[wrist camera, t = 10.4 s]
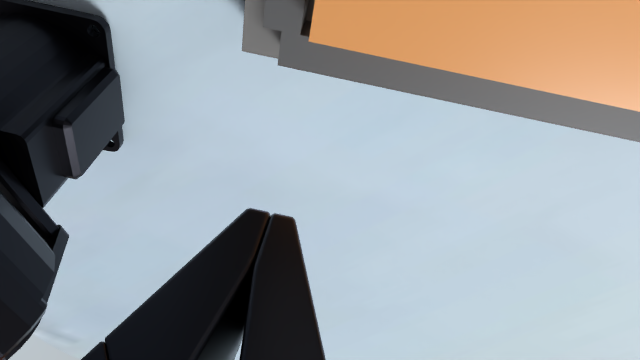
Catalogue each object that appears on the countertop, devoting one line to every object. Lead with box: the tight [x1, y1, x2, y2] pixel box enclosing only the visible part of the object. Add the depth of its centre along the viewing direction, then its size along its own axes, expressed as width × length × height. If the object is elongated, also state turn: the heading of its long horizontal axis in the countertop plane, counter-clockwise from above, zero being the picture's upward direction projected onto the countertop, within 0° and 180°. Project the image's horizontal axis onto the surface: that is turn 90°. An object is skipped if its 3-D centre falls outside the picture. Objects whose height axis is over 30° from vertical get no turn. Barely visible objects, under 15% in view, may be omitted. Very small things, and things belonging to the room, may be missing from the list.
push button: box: [309, 0, 640, 112], centre depth 14 cm, size 11×4×2 cm, turn 81°
